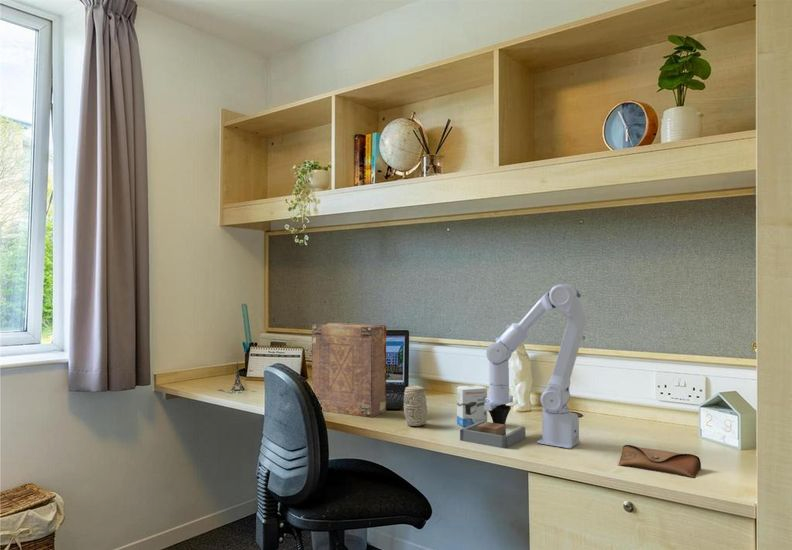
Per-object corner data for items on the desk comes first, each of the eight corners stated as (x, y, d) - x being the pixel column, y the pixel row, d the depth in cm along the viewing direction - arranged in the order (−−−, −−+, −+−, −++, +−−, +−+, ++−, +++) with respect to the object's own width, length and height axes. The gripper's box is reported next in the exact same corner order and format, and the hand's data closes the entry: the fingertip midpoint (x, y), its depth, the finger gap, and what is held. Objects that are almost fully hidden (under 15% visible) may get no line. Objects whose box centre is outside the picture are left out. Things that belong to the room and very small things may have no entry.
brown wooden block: (505, 438, 168) (505, 424, 168) (496, 443, 163) (496, 428, 163) (487, 435, 172) (486, 421, 172) (477, 440, 167) (477, 425, 167)
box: (525, 437, 169) (525, 427, 169) (505, 448, 158) (505, 437, 158) (481, 430, 177) (481, 420, 177) (460, 440, 167) (460, 429, 167)
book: (311, 409, 208) (311, 324, 208) (327, 404, 215) (327, 322, 216) (371, 417, 195) (371, 326, 195) (386, 412, 203) (386, 325, 203)
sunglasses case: (614, 465, 143) (617, 438, 146) (620, 473, 148) (623, 447, 151) (697, 478, 133) (698, 449, 136) (700, 486, 138) (701, 458, 141)
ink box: (462, 427, 181) (462, 389, 181) (456, 423, 186) (456, 386, 186) (488, 425, 183) (487, 387, 184) (481, 421, 188) (481, 385, 188)
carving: (407, 422, 188) (407, 384, 188) (430, 424, 186) (430, 385, 186) (400, 426, 182) (400, 387, 183) (423, 428, 180) (423, 389, 180)
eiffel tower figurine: (215, 391, 246) (215, 359, 246) (237, 388, 253) (237, 356, 253) (235, 395, 236) (235, 362, 236) (257, 392, 243) (257, 359, 243)
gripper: (497, 379, 179) (498, 424, 179) (474, 386, 168) (475, 434, 168) (519, 381, 175) (519, 427, 175) (497, 389, 163) (497, 438, 163)
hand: (499, 431), depth 171 cm, fingers closed
